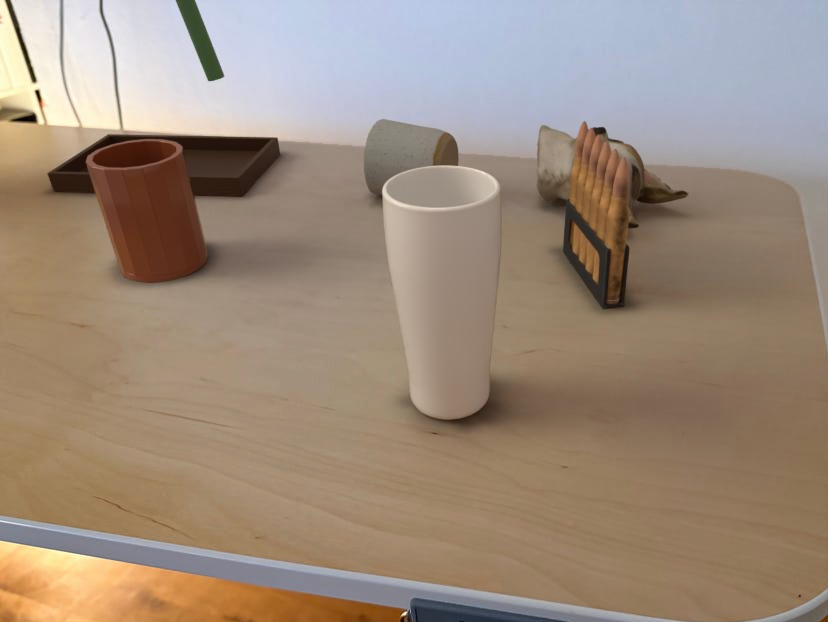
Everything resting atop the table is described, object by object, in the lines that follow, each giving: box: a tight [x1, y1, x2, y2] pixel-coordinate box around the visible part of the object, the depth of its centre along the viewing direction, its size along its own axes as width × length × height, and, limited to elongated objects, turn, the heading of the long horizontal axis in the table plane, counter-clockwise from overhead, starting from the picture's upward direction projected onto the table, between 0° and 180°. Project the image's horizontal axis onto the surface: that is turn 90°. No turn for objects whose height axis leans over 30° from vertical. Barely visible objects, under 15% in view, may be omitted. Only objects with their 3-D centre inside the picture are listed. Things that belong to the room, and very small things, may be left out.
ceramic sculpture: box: [536, 124, 689, 229], centre depth 73 cm, size 11×9×15 cm
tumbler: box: [86, 139, 209, 283], centre depth 64 cm, size 7×7×10 cm
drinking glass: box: [381, 165, 503, 421], centre depth 46 cm, size 7×7×15 cm
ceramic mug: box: [363, 118, 460, 196], centre depth 78 cm, size 11×8×8 cm
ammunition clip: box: [562, 120, 631, 309], centre depth 61 cm, size 11×2×12 cm, turn 12°
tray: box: [47, 133, 281, 197], centre depth 85 cm, size 13×21×2 cm, turn 85°
